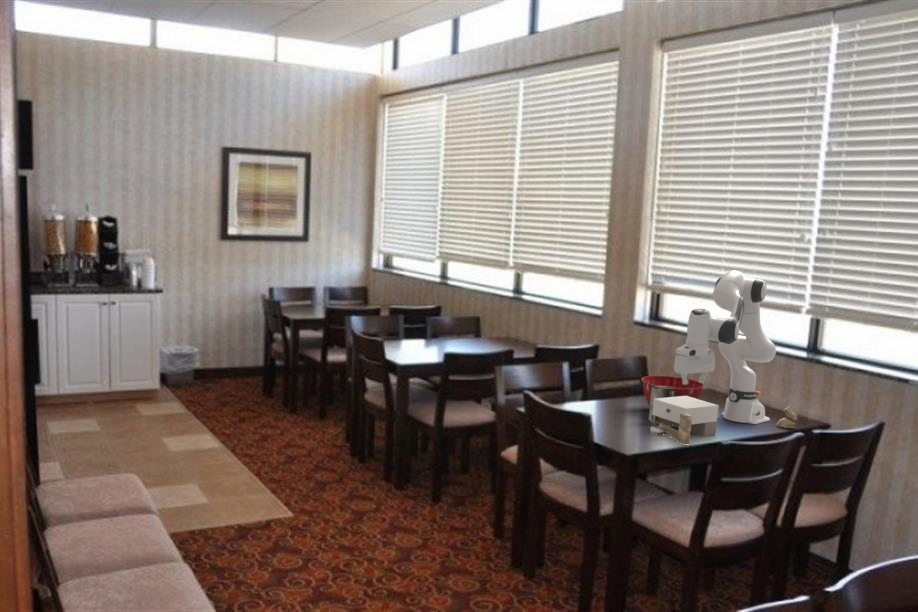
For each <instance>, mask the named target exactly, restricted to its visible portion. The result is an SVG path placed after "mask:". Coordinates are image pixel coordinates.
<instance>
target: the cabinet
mask: <svg viewBox="0 0 918 612" xmlns="http://www.w3.org/2000/svg"><path fill="white" fill-rule="evenodd" d="M719 406H720V405H718V404H717V403H716V404H715V403H712V402H710V401H709V402H708V401H705V400H701V399H700V398H698V399H696V398H692V397H689V396H678V397H667V398H656V399H654V403H653V414H652V415H655V416H658V417H661V418H664V419H667V420H670V421H673V423H672V424H671V425H673V426H672V427H675V426H676V427H675V428H678V427H679V423H680V413H686V414H689V415H691V416H692V423H691V432H690V433H693V434H695V435H698V436H701V437H710V436H716V433H717V424H718V416H719V415H718V414H719Z"/></svg>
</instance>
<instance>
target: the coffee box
mask: <svg viewBox="0 0 918 612" xmlns="http://www.w3.org/2000/svg"><path fill="white" fill-rule="evenodd" d="M675 395H676V389H675V388H673V387H670V386H652V388H651V400H650V406H649V412H648V413H649V415H648V421H649V420H650V421H651V423H652V422H653V423H652V424H654V423H655V424H654V425H659V424H660V422H662V423H664V424H666V425H672V423H673V421H670V420H667V419H664V418H661V417H658V416H655V415H652V414H653V403H654V399H656V398H667V397H675ZM650 421H649V422H650Z"/></svg>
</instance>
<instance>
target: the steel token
mask: <svg viewBox="0 0 918 612" xmlns="http://www.w3.org/2000/svg"><path fill="white" fill-rule="evenodd" d="M650 432H651V433H653V434H652V435H654V434H657V435H656V436H664V435H663V434H665V428H663V427H659V425H658V426H657V425H652V426H650V430H649V433H650ZM651 433H650V434H651ZM665 435H666V434H665Z"/></svg>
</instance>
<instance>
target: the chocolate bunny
mask: <svg viewBox="0 0 918 612" xmlns="http://www.w3.org/2000/svg"><path fill="white" fill-rule="evenodd" d="M783 412H784V413H785V416H784V417H783V418H780V419H779V420H778V422H777V423H776V424H775V426H776V427H777V426H779V427H778V428H780V427H785V428H794V429H795V425H796V424H797V422H796V421H797V420H798V414H797V413H795V412H794V411H793V410H792V408H791V407H790V406H787V407H786V408H783ZM785 428H784V429H785Z"/></svg>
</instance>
